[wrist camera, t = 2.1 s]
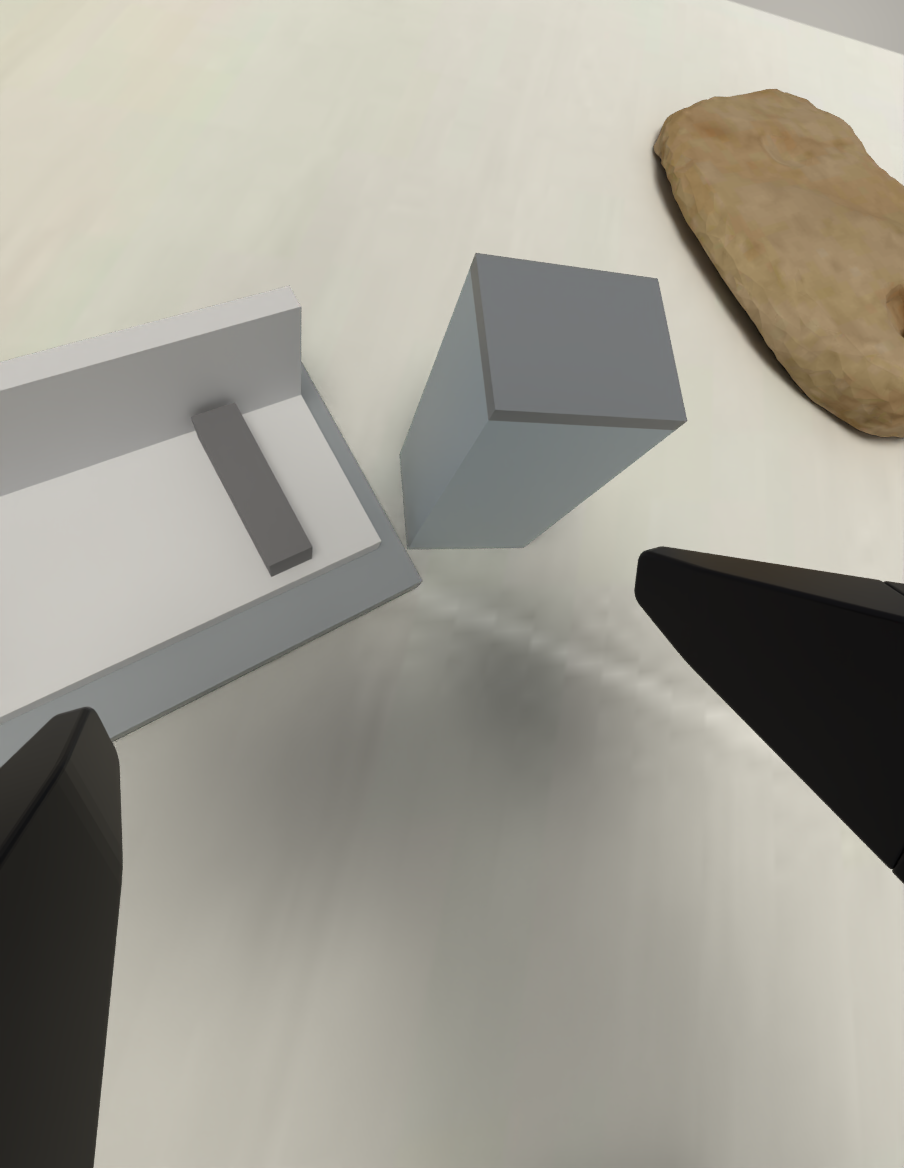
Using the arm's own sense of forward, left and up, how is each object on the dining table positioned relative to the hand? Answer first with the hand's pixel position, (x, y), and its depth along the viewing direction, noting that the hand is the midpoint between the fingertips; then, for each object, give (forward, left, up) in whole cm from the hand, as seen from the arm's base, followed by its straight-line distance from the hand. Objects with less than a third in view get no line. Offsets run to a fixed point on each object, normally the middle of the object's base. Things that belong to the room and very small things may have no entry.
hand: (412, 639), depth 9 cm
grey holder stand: (+11, -2, -14) cm, 18 cm away
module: (-2, -10, -14) cm, 17 cm away
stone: (-16, -36, -15) cm, 42 cm away
